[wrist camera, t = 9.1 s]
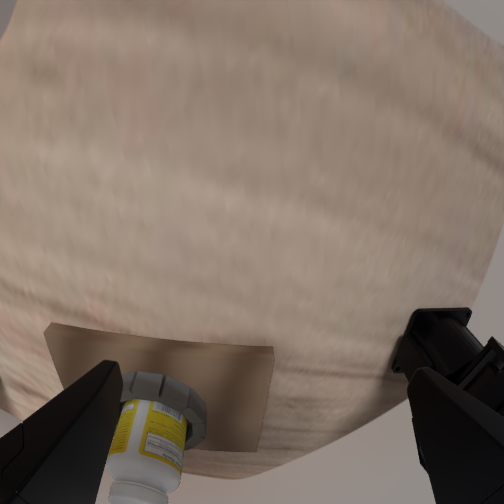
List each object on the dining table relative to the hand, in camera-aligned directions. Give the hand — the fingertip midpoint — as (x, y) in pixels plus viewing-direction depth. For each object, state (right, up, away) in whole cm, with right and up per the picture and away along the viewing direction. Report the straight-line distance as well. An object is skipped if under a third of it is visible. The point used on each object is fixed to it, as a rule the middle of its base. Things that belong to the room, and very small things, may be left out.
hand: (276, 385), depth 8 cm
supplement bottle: (-9, -9, +15) cm, 20 cm away
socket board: (-9, -9, +16) cm, 20 cm away
